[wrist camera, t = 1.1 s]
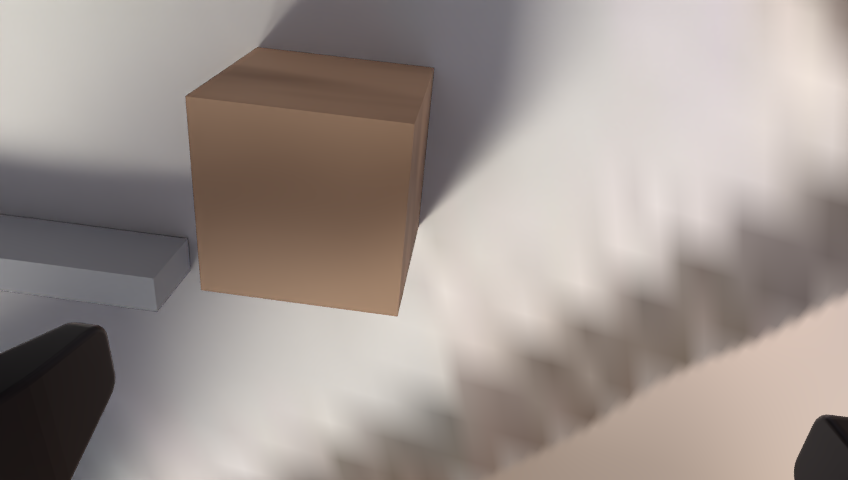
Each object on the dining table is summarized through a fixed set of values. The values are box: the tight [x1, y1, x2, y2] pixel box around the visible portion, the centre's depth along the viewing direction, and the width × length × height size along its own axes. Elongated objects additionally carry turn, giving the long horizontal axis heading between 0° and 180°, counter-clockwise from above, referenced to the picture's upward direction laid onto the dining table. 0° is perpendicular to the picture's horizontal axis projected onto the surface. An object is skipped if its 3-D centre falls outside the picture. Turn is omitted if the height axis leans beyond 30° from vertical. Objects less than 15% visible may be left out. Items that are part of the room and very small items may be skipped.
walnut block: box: [185, 47, 434, 316], centre depth 18 cm, size 5×5×5 cm
